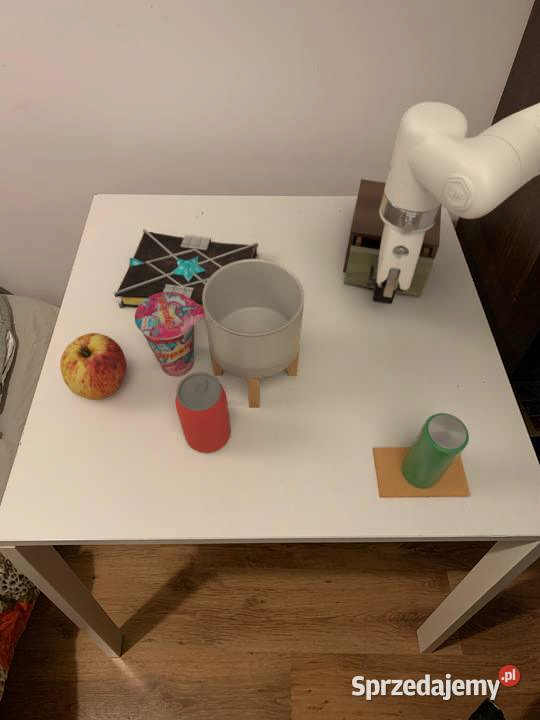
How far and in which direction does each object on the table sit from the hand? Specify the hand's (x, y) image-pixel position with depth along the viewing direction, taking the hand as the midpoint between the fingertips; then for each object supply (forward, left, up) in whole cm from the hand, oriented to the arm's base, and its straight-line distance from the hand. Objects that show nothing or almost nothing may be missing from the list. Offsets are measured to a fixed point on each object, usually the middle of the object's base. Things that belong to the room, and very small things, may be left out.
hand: (382, 299), depth 79 cm
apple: (+39, +23, -5) cm, 46 cm away
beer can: (+21, +27, -5) cm, 35 cm away
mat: (-9, +26, -5) cm, 28 cm away
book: (+33, -1, -5) cm, 34 cm away
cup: (+29, +16, -5) cm, 34 cm away
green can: (-9, +26, -4) cm, 28 cm away
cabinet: (0, -17, -5) cm, 17 cm away
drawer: (0, -10, -4) cm, 11 cm away
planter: (+17, +15, -5) cm, 24 cm away
